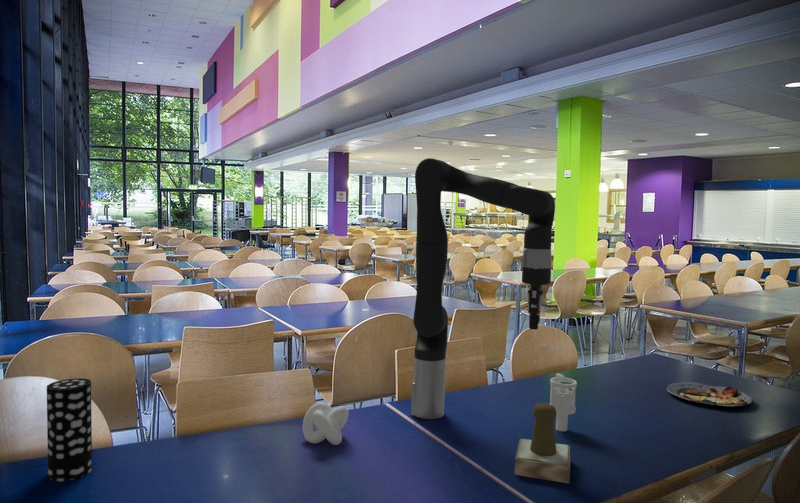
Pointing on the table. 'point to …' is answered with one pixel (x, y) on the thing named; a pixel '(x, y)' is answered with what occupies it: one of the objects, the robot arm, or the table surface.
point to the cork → (544, 430)
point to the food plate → (710, 394)
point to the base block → (543, 463)
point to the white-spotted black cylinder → (69, 429)
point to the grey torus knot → (324, 423)
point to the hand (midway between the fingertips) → (534, 326)
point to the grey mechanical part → (562, 399)
